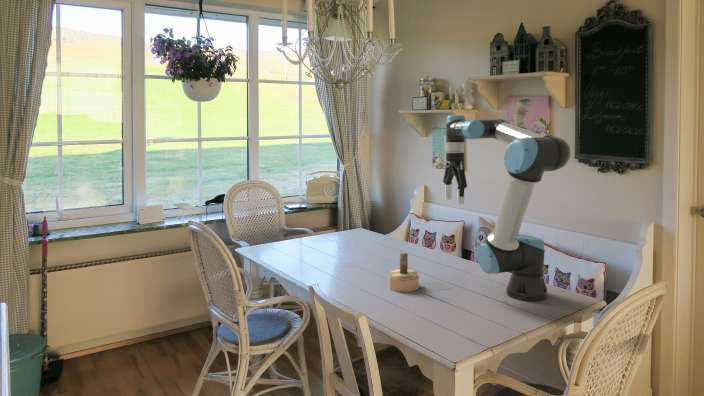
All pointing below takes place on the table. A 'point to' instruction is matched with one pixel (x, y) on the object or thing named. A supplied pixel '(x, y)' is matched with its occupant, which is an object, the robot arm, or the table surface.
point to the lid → (403, 270)
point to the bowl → (403, 284)
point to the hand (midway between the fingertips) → (454, 201)
